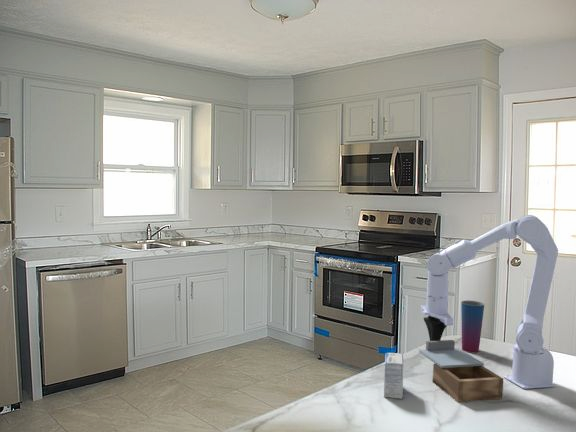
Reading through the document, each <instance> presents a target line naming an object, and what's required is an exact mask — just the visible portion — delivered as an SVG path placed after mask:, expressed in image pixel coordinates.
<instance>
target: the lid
mask: <svg viewBox="0 0 576 432" xmlns="http://www.w3.org/2000/svg"><path fill="white" fill-rule="evenodd" d="M425 342H426V343H425V349H419V350H418V353H419V354H421V355H423V357H426V358H427V359H428V360H429V361H431V362H432V363H433V364H437V365H438V366H439V367H441V368H452V367H468V366H483V367H485V366H484V365H485V362H482V361H481V360H480V359H477V358H476V357H474V356H472V355H471V354H469V352H466V351H464V350H462V348H461V349H460V348H459V347H456V345H455V343H456V342H455V340H454V339H446V340H440V341H430V340H426V341H425Z"/></svg>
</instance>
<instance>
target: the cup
mask: <svg viewBox="0 0 576 432" xmlns="http://www.w3.org/2000/svg"><path fill="white" fill-rule="evenodd" d="M460 307H461V313H460V314H461V350H463V351H464V352H466V353H472V354H473V353H474V354H475V353H478V352H479V351H480V343H481V335H482V328H483V327H482V326H483V319H484V309H485V303H483V302H482V301H477V300H469V299H468V300H462V301H461V303H460Z"/></svg>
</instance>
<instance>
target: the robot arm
mask: <svg viewBox="0 0 576 432" xmlns="http://www.w3.org/2000/svg"><path fill="white" fill-rule="evenodd" d="M517 236H518V237H519V239H521V240H522V241H524V242H526V243H527V244H528V245H530V247H531V248H532V249H533V251H534V252H535V253H536V258H535V263H534V268H533V271H532V272H533V273H532V278H531V281H530V284H529V285H530V286H529V290H528V296H527V300H526V304H525V309H524V313H523V315H522V320H521V321H520V322H519V323H518V324H517V325H516V328H515V329H516V330H515V333H516V337H515V341H516V343H514V344H513V352H512V367H511V368H512V371H511V374H509V375H508V374H507V375H504V378H505V379H506V380H508V381H509V382H511V383H513V384H515V385H516V386H518V387H519V388H522V389H524V390H526V389H527V390H528V389H541V388H554V387H556V385H555V384H554V383H553V382H554V369H555V366H554V365H555V361H554V357H553V355H552V353H551V352H550V350H548V349H546V348H544V347H543V346H544V337H543V327H544V317H545V313H546V307H547V304H548V299H549V295H550V290H551V286H552V281H553V278H554V273H555V272H554V271H555V268H556V264H557V259H558V254H559V248H558V247H557V244H556V243H555V240H554V239H553V236H552V235H551V232H550V230H549V228H548V227H547V225H546V224H545V223H544V222H543V221H542V220H541V219H539V218H538V217H537V216H535V215H532V214H526V215H523V216H522V217H520V218H519V219H517V218H516V219H512V220H509V221H507V222H504V223H502V224H500V225H499V226H496V227H495V228H493V229H491V230H489V231H488V232H486V233H484V234H482V235H480V236H478V237H477V238H474V239H473V240H468V239H462V240H460V239H458V240H455V241H454V244H452V245H451V246H449V247H446V248H441V249H439V252H437V253H434V254H433V255H431V256H429V258H428V260H427V262H426V268H427V272H428V273H427V280H426V281H427V282H426V299H425V300H426V302H425V303H426V304H423V305H420V312H421V314H422V315H425V316H424V317H423V322H424V324H425V326H426V328H427V332H428V338H429V341H440V340H441V339H442V337H443V333H444V331H445V329H446V327H448V326H454V318H453V317H452V316H451V315H450V313H449V312H448V300H449V270H450V269H455V268H457V267H460V266H461V265H464V264H465V263H468V262H469V261H471V260H474V259H475V258H476V256H477V252H478V251H481V250H483V249H485V248H486V247H489V246H491V245H493V244H496V243H498V242H499V241H500V242H501V241H503V240H505V239H506V240H508V239H509V240H517Z"/></svg>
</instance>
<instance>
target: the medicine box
mask: <svg viewBox="0 0 576 432" xmlns="http://www.w3.org/2000/svg"><path fill="white" fill-rule="evenodd" d="M384 359H385V360H384V377H383V378H384V379H383V383H384V384H383V397H384V398H388V397H390V399H397V398H401V399H403V386H404V356H403V353H400V352H399V353H398V352H385V356H384ZM401 399H400V400H401Z"/></svg>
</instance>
